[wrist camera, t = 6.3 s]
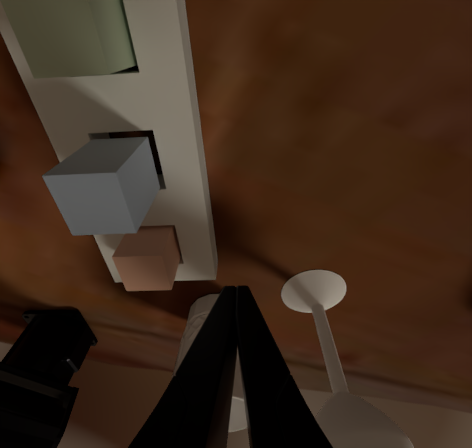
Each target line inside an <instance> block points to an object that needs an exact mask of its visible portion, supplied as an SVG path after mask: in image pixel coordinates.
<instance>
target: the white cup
mask: <svg viewBox="0 0 472 448" xmlns="http://www.w3.org/2000/svg"><path fill="white" fill-rule="evenodd" d="M218 296H219V294H209V295H206V296H204V297H201V298H199V299H197V300H196V301H195V302H194V303H193V305H192V306H191V307H190V312H189V316H188V320H187V325H186V328H185V331H184V333H183V336H182V340H181V344H180V348H179V351H178V355H177V359H176V363H175V367H174V371H173V376H176V375H175V373H176V371H177V369H178V368H179V366H180V364H181V362H182V360H183V359H184V357H185V355H186V353H187V351H188V350H189V348H190V346H191V344H192V343H193V341H194V339H195V337H196V335H197V334H198V332H199V330H200V328H201V326H202V325H203V323H204V321H205V319H206V318H207V316H208V314H209V312H210V310H211V309H212V307H213V305H214V303H215V301H216V300H217V298H218ZM173 376H172V378H173ZM245 428H247V420H246V412H245V404H244V396H243V388H242V380H241V372H240V364H239V355H238V345H237V359H236V368H235V377H234V386H233V395H232V404H231V412H230V421H229V430H228V432H233V431H238V430H242V429H245Z"/></svg>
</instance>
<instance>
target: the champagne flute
mask: <svg viewBox="0 0 472 448" xmlns="http://www.w3.org/2000/svg"><path fill="white" fill-rule="evenodd" d="M345 293H346V283H345V281H344V280H343V278H342V277H340V276H339V275H338V274H336V273H334V272H331V271H327V270H310V271H306V272H302V273H300V274H297V275H295V276H294V277H292V278H290V279H289V280H288V281H287V282H286V283H285V285H284V286H283V288H282V291H281V297H282V300H283V302H284V303H285V304H286V305H287V306H288V307H289V308H291V309H293V310H295V311H299V312H306V313H313V317H314V321H315V324H316V328H317V332H318V336H319V340H320V344H321V348H322V352H323V356H324V360H325V364H326V368H327V372H328V376H329V380H330V384H331V388H332V392H333V396H331V397H330V398H329V399H328V400H327V401H326V402H325V403H324V405H323V406H322V408H321V409H320V411H319V412H318V414H317V415H316V417H315V419H316V421H317V423H318V424H319V426H320V428H321V429H322V431H323V432H324V434H325V436H326V437H327V439H328V440H329V442H330V443H331V445H332V447H333V448H414V446H413V444H412V442H411V441H410V439H409V437H408V436H407V435H406V434H405V433H404V432H403V431H402V429H401V428H400V427H399V426H398V425H397V424H396V423H395V422H394V421H393V420H392V419H391V418H389V417H388V416H387V415H386V414H385V413H383V412H382V411H380V410H379V409H377V408H376V407H374V406H373V405H371V404H370V403H368V402H367V401H365V400H364V399H362V398H361V397H359V396H356V395H354V394H351V393H349V390H348V387H347V384H346V380H345V377H344V374H343V370H342V367H341V363H340V360H339V357H338V353H337V350H336V347H335V343H334V340H333V337H332V333H331V330H330V327H329V323H328V320H327V317H326V313H325V310H326V309H329V308H331V307H333V306H335V305H336V304H337V303H339V302H340V301H341V300H342V299H343V297H344V295H345Z"/></svg>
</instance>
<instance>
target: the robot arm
mask: <svg viewBox="0 0 472 448" xmlns="http://www.w3.org/2000/svg"><path fill="white" fill-rule="evenodd" d="M22 317H23V319H24V320H25V321H26V322H27V323H28V326H27V327H26V328H25V330H24V331H23V332H22V334H21V335H20V337H19V338H18V339H17V341H16V342H15V343H14V345H13V346H12V348H11V349H10V350H9V352H8V353H7V354H6V356H5V357H4V359H3V360H2V361H1V362H0V448H57V446H58V444H59V442H60V440H61V438H62V436H63V434H64V431H65V429H66V426H67V423H68V420H69V417H70V414H71V411H72V408H73V405H74V402H75V399H76V396H77V393H78V390H79V388H76V387H70V386H68V384H69V382H70V380H71V378H72V376H73V373H74V372H77V371H78V370H79V369H80V366H81V365H82V362H83V361H84V359H85V356H86V354H87V352H88V350H89V348H90V346H95V345H96V344H97V342H98V341H97V339H96V337H95V336H94V334H93V333H92V331H91V329H90V328H89V326H88V325H87V323H86V321H85V320H84V318H83V317H82V315H81V313H80V312H79V311H76V310H60V311H25V312H24V313H23V314H22ZM237 345H238V355H239V364H240V372H241V380H242V388H243V396H244V404H245V412H246V420H247V428H248V436H249V445H250V448H333V447H332V445H331V443H330V442H329V440H328V439H327V437H326V436H325V434H324V432H323V431H322V429H321V428H320V426H319V424H318V423H317V421H316V419H315V418H314V416H313V414H312V413H311V411H310V409H309V408H308V406H307V404H306V402H305V400H304V398H303V396H302V395H301V393H300V391H299V389H298V387H297V385H296V383H295V381H294V379H293V377H292V375H290V371H289V369H288V367H287V365H286V363H285V361H284V359H283V357H282V354H281V352H280V350H279V348H278V346H277V344H276V342H275V340H274V338H273V336H272V334H271V332H270V330H269V328H268V326H267V324H266V322H265V320H264V318H263V316H262V313H261V311H260V309H259V307H258V305H257V303H256V301H255V299H254V297H253V295H252V293H251V291H250V289H249V287H248V286H237V287H235V286H225V287H223V289H222V291H221V292H220V294H219V296H218V298H217V300H216V301H215V303H214V305H213V307H212V309H211V310H210V312H209V314H208V316H207V318H206V319H205V321H204V323H203V325H202V326H201V328H200V330H199V332H198V334H197V335H196V337H195V339H194V341H193V343H192V344H191V346H190V348H189V350H188V351H187V353H186V355H185V357H184V359H183V360H182V362H181V364H180V366H179V368H178V369H177V371H176V373H175V375H176V376H173V378H172V380H171V382H170V383H169V385H168V387H167V389H166V390H165V392H164V394H163V396H162V397H161V399H160V400H159V402H158V404H157V406H156V407H155V409H154V410H153V412H152V413H151V415H150V416H149V418H148V419H147V421H146V422H145V424H144V425H143V427H142V428H141V429H140V431H139V432H138V434H137V435H136V437H135V438H134V439H133V441H132V442H131V444H130V445H129V447H128V448H226V447H227V439H228V430H229V421H230V412H231V404H232V395H233V386H234V377H235V368H236V359H237Z"/></svg>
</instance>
